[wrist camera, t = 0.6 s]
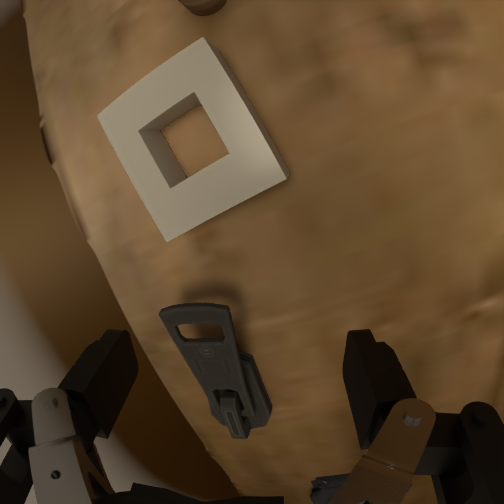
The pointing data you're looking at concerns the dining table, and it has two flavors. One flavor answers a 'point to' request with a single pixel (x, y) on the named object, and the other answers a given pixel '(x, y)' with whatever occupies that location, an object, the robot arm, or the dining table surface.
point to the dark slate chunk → (327, 488)
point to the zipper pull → (221, 368)
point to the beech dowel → (203, 6)
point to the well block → (163, 159)
